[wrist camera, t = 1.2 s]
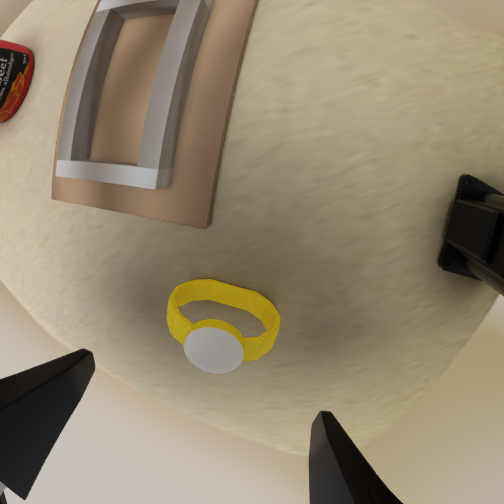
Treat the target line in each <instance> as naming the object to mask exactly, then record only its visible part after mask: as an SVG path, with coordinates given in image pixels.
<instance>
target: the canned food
mask: <svg viewBox="0 0 504 504" xmlns="http://www.w3.org/2000/svg"><path fill="white" fill-rule="evenodd" d="M32 72H33V56H32V53H31V52H30V50H29V49H27V48H26V47H25V46H23V45H19V44H15V43H12V42H8V41H4V40H0V122H3V121H5V120H7V119H9V118H10V117H11V116H12V115H13V114H14V113H15V112H16V110H17V109H18V107H19V106H20V104H21V102H22V101H23V99H24V97H25V94H26V92H27V90H28V87H29V84H30V80H31V77H32Z"/></svg>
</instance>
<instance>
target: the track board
mask: <svg viewBox="0 0 504 504" xmlns="http://www.w3.org/2000/svg"><path fill="white" fill-rule="evenodd" d="M257 2H258V0H98V2H97V4H96V6H95V8H94V11H93V13H92V15H91V17H90V20H89V22H88V24H87V27H86V29H85V32H84V35H83V37H82V40H81V43H80V45H79V48H78V51H77V54H76V57H75V60H74V64H73V67H72V70H71V74H70V77H69V81H68V85H67V89H66V93H65V97H64V102H63V106H62V111H61V116H60V122H59V128H58V134H57V141H56V148H55V157H54V166H53V179H52V199H54V200H59V201H64V202H70V203H75V204H81V205H86V206H91V207H96V208H102V209H107V210H112V211H117V212H122V213H128V214H133V215H138V216H143V217H148V218H153V219H158V220H163V221H168V222H173V223H178V224H183V225H188V226H192V227H197V228H202V229H206V228H208V227H209V224H210V217H211V211H212V205H213V199H214V193H215V188H216V182H217V176H218V171H219V165H220V160H221V155H222V150H223V145H224V139H225V134H226V130H227V125H228V120H229V115H230V111H231V106H232V101H233V97H234V92H235V88H236V84H237V79H238V75H239V71H240V67H241V63H242V58H243V54H244V50H245V47H246V43H247V39H248V35H249V31H250V27H251V24H252V20H253V16H254V13H255V9H256V6H257Z"/></svg>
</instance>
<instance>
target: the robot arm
mask: <svg viewBox="0 0 504 504" xmlns="http://www.w3.org/2000/svg"><path fill="white" fill-rule="evenodd" d="M466 180H468V184H466ZM445 260H447V262H446V264H444V262H445ZM438 264H439V267H440V268H442V269H443V270H445V271H449V272H453V273H456V274H460V275H463V276H467V277H471V278H474V279H478V280H481V281H484V282H485V283H487V284H488V285H489V286H491V287H492V288H493V289H495V290H496V291H497V292H499V293H500V294H501V295H503V296H504V195H503V194H502V193H500V192H499V191H497V190H495V189H494V188H492V187H490V186H489V185H487V184H485V183H484V182H482V181H480V180H478V179H477V178H475V177H473V176H471V175H468V174H464V175H462V176H461V179H460V184H459V189H458V193H457V198H456V202H455V206H454V210H453V214H452V218H451V222H450V225H449V229H448V232H447V236H446V239H445V242H444V246H443V249H442V252H441V255H440V258H439V261H438ZM94 371H95V362H94V357H93V353H92V352H91V351H89V350H87V349H80V350H77V351H75V352H72V353H70V354H67V355H65V356H62V357H59V358H57V359H54V360H52V361H49V362H46V363H44V364H41V365H39V366H36V367H33V368H30V369H28V370H25V371H22V372H20V373H17V374H14V375H11V376H8V377H5V378H3V379H0V504H7V501H6V498H5V494H4V489H5V488H6V487H8V488H9V489H10V490H12V491H13V492H14V493H15V494H17V495H18V496H19V497H21V498H22V499H23V500H25V499H26V498H27V496H28V494H29V492H30V490H31V487H32V486H33V484H34V482H35V480H36V478H37V476H38V474H39V472H40V470H41V467H42V466H43V464H44V462H45V460H46V458H47V457H48V455H49V453H50V451H51V449H52V447H53V446H54V444H55V442H56V440H57V439H58V437H59V435H60V433H61V432H62V430H63V428H64V427H65V425H66V423H67V421H68V420H69V418H70V416H71V415H72V413H73V411H74V410H75V408H76V407H77V405H78V403H79V402H80V400H81V398H82V396H83V394H84V392H85V390H86V388H87V386H88V384H89V381H90V379H91V377H92V375H93V373H94ZM309 489H310V504H403V503H402V502H401V501H400V500H399V499H398V498H397V497H396V496H395V495H394V494H393V493H392V492H391V491H390V490H389V489H388V488H387V486H386V485H385V484H384V483H383V482H382V480H381V479H380V478H379V476H378V475H377V474H376V472H375V471H374V470H373V468H372V467H371V466H370V464H369V463H368V462H367V460H366V459H365V458H364V456H363V455H362V454H361V452H360V451H359V450H358V448H357V447H356V445H355V444H354V443H353V441H352V440H351V439H350V437H349V436H348V435H347V433H346V432H345V430H344V429H343V428H342V426H341V425H340V423H339V422H338V421H337V419H336V418H335V417H334V415H333V414H332V413H331V412H330V411H320V412H319V413H318V415H317V416H316V418H315V420H314V421H313V423H312V427H311V439H310V451H309Z"/></svg>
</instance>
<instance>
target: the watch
mask: <svg viewBox="0 0 504 504" xmlns="http://www.w3.org/2000/svg"><path fill="white" fill-rule="evenodd" d="M199 300H212V301H216V302H219V303H222V304H226V305H229V306H233V307H236V308H240V309H243V310H247V311H249V312H250V313H252V314H253V315H254V316H255V317H257V318H258V319H259V320H261V321H262V323H263V325H264V326H265V328H266V330H267V332H265V333H263V334H262V335H260V336H258V337H248V338H243V336H242V335H241V333H240V332H239V331H238V330H237V329H236V328H235V327H234V326H232V325H231V324H229V323H227V322H224V321H222V320H216V319H206V320H201V321H199V322H197V323H195V324H193V323H191V322H190V321H189V320H188V319H186V318H185V317H184V316H183V315H182V314H181V313H180V310H179V307H180V306H182V305H184V304H186V303H188V302H190V301H199ZM166 320H167V323H168V326H169V329H170V333H171V334H172V335H173V337H174V338H175V339H176V340H178V341H179V342H180V343H181V344H182V345H183V349H184V352H185V355H186V357H187V359H188V360H189V361H190V362H191V363H192V364H193V365H194V366H195V367H197V368H198V369H200V370H202V371H205V372H208V373H213V374H224V373H228V372H231V371H233V370H235V369H236V368H237V367H239V365H240V364H241V362H245V361H253V360H255V359H259V358H260V357H261V356H263V355H264V354H266V353H267V352H268V351H270V350H271V348H272V347H273V344H274V342H275V339H276V337H277V334H278V332H279V328H280V321H281V317H280V315H279V313H278V312H277V310H276V308H275V307H274V305H273V304H272V303H271V302H270V301H269V300H268V299H266V298H265V297H263V296H262V295H260V294H259V293H258V292H255V290H253V291H251V290H247V289H244V288H240V287H237V286H233V285H230V284H226V283H223V282H220V281H216V280H213V279H196V280H191V281H188V282H186V283H183V284H181V285H178V286H177V287H175V289H174V290H173V292H172V294H171V295H170V297H169V301H168V309H167V317H166Z"/></svg>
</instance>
